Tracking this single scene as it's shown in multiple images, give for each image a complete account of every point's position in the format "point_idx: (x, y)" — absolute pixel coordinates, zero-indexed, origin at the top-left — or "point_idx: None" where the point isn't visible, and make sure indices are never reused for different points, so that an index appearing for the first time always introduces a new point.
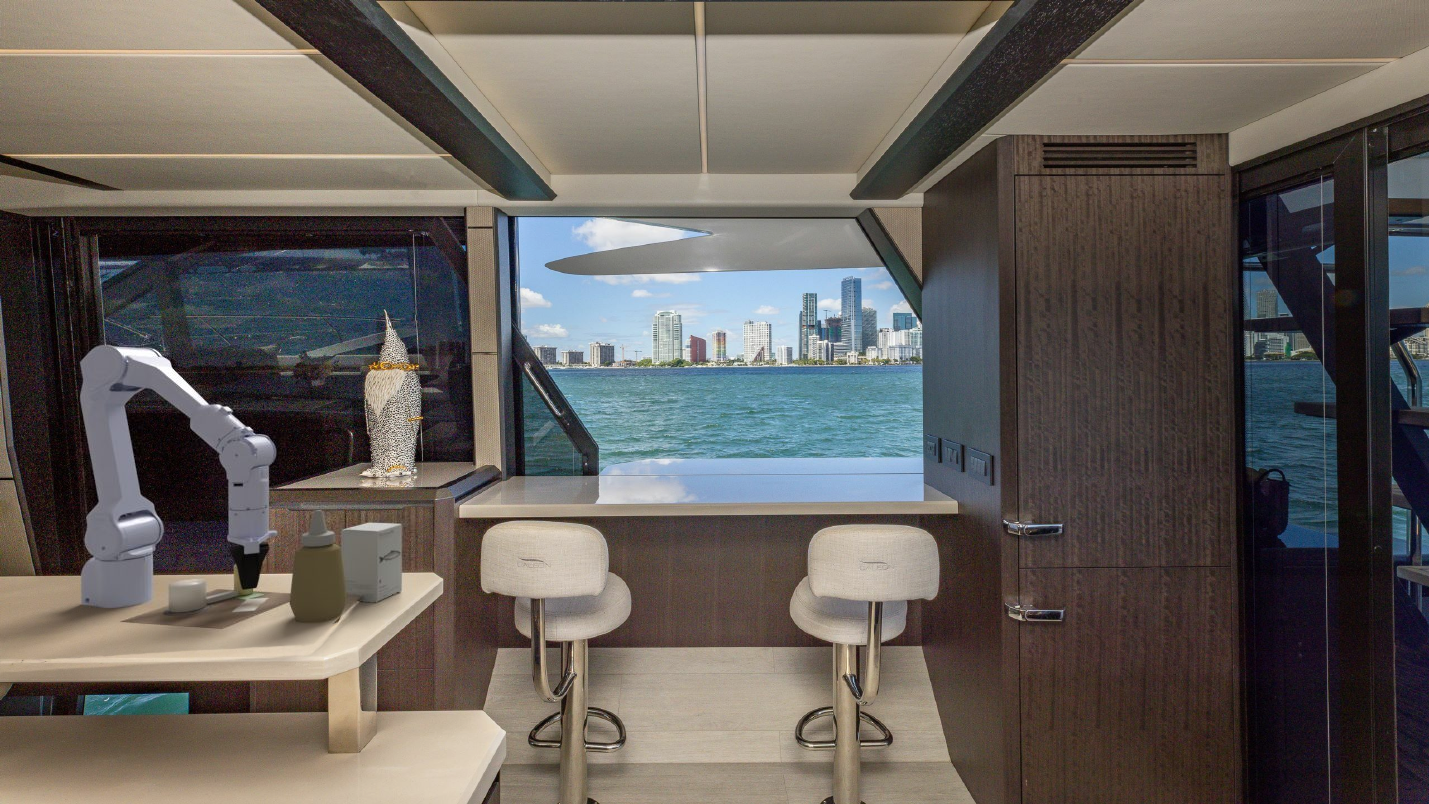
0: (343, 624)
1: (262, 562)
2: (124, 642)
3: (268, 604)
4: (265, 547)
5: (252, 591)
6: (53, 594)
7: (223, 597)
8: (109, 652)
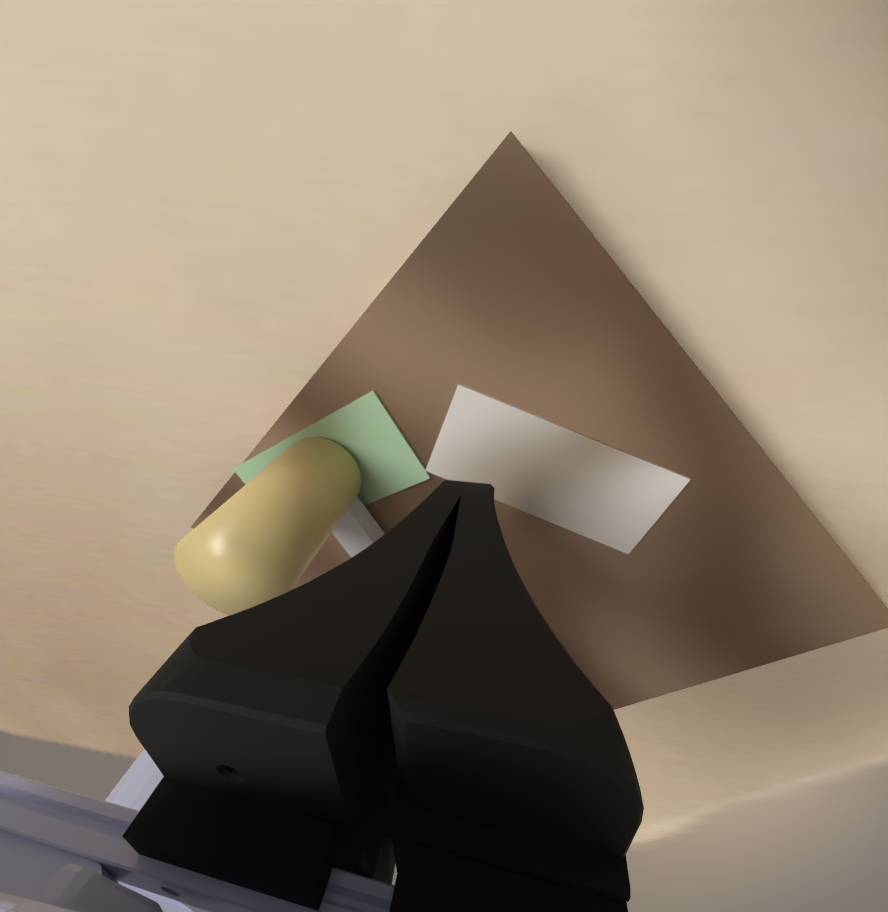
0: None
1: (531, 602)
2: (634, 745)
3: (600, 401)
4: (504, 771)
5: (330, 445)
6: (110, 723)
7: None
8: (710, 777)
